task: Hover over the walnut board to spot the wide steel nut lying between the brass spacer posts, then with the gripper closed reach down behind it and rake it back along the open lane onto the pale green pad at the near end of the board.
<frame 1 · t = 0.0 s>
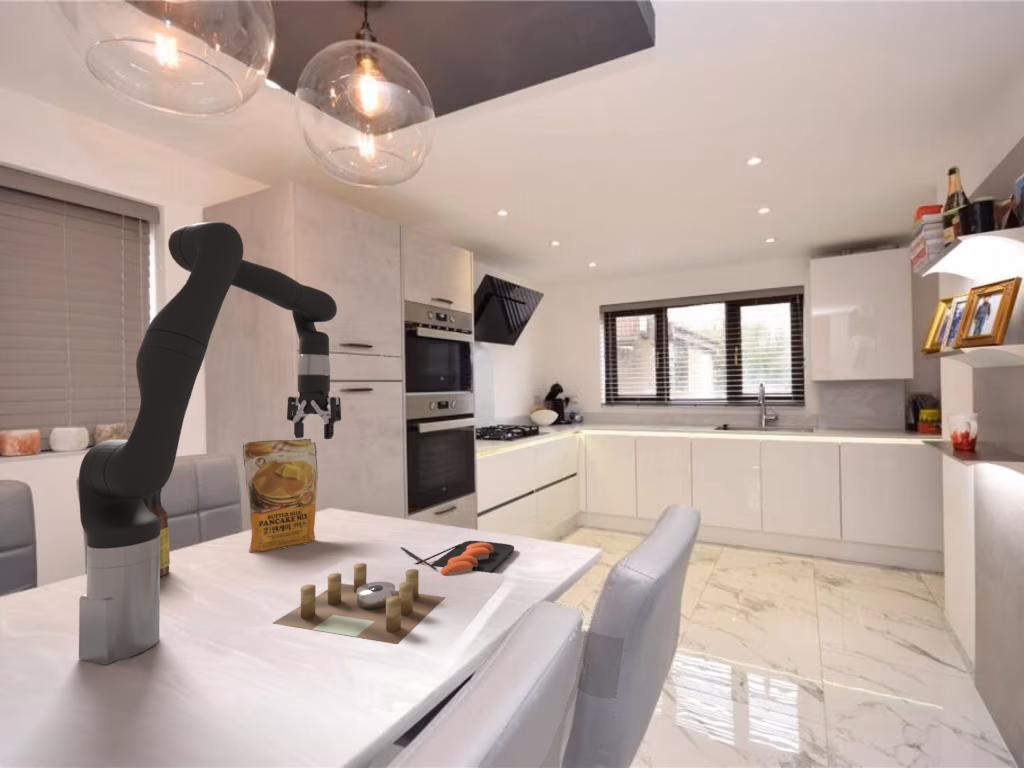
hand: (313, 438, 122), 29 cm above the table, tool pointing down, fingers open, 8 cm apart
nut: (375, 601, 92), point 1 cm above the table, touching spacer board
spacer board: (363, 617, 89), on the table
sauce bottle: (151, 576, 109), on the table
pancake mix bag: (282, 545, 130), on the table
sushi plate: (439, 565, 117), on the table
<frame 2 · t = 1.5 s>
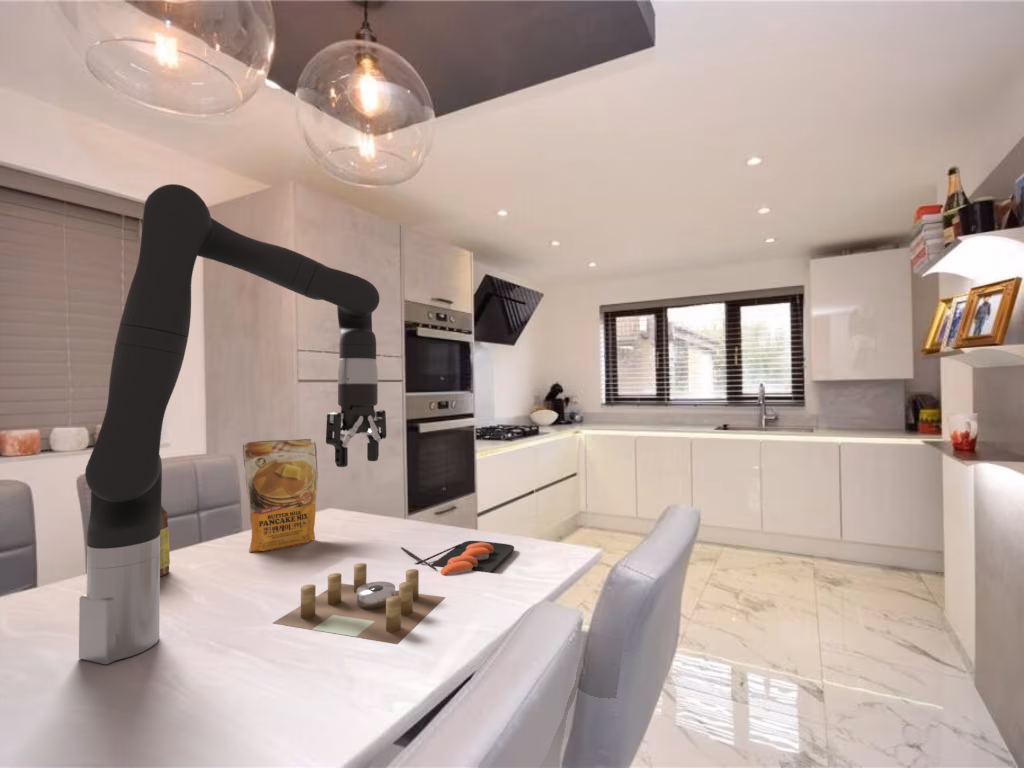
hand: (357, 463, 97), 27 cm above the table, tool pointing down, fingers open, 8 cm apart
nothing on the table moved.
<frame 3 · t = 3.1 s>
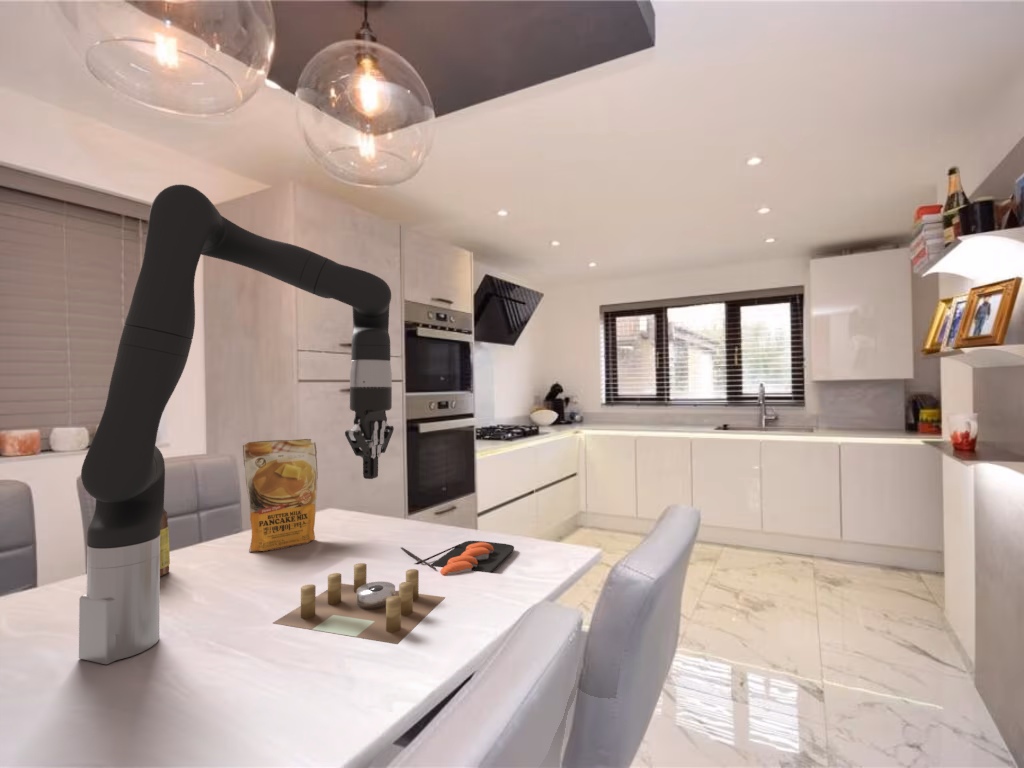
hand: (370, 478, 91), 25 cm above the table, tool pointing down, fingers closed
nothing on the table moved.
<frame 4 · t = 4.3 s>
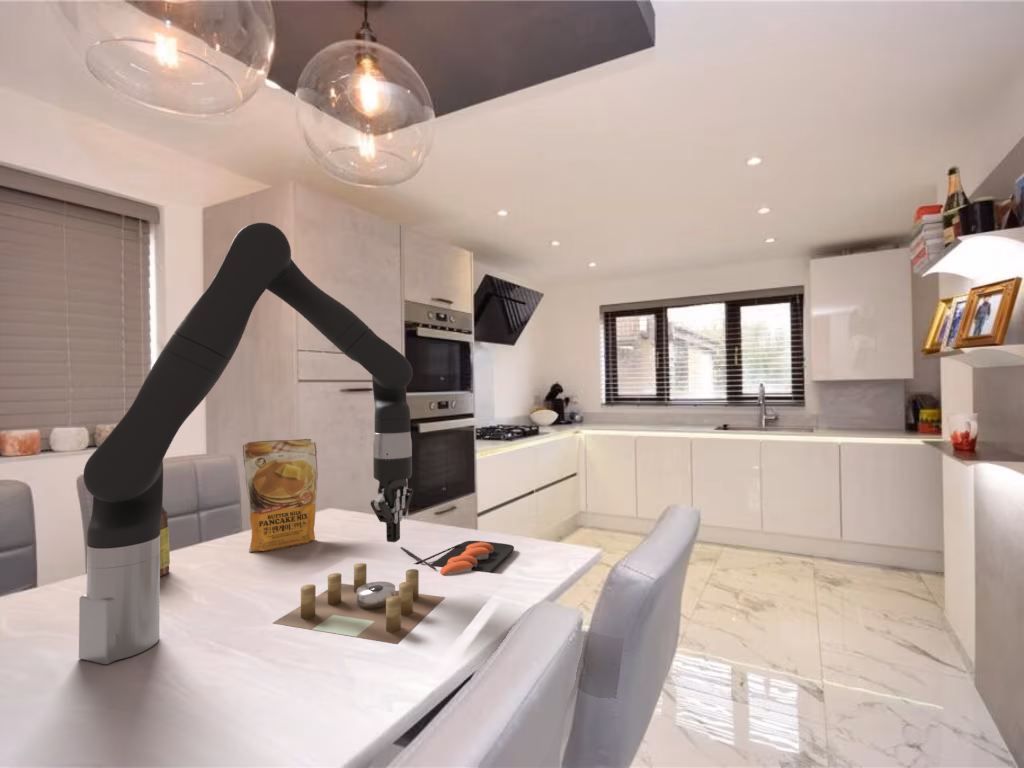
hand: (393, 540, 98), 11 cm above the table, tool pointing down, fingers closed
nothing on the table moved.
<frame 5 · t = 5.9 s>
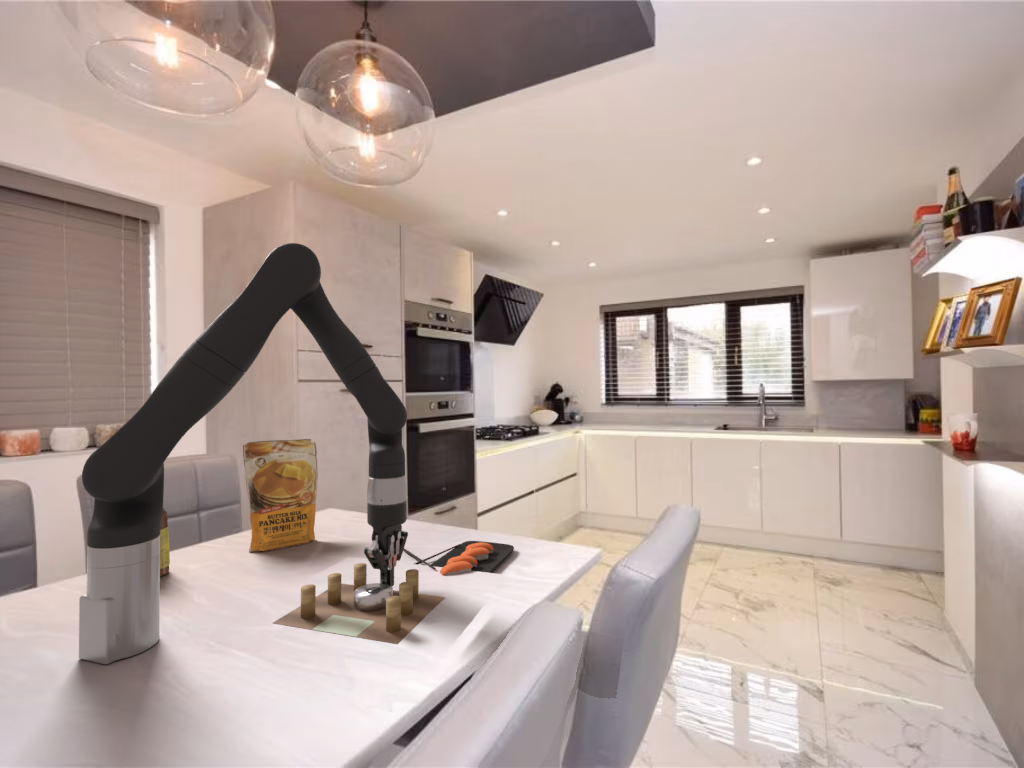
hand: (387, 586, 96), 3 cm above the table, tool pointing down, fingers closed
nut: (373, 603, 91), point 2 cm above the table, touching gripper, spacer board
everything else where it was.
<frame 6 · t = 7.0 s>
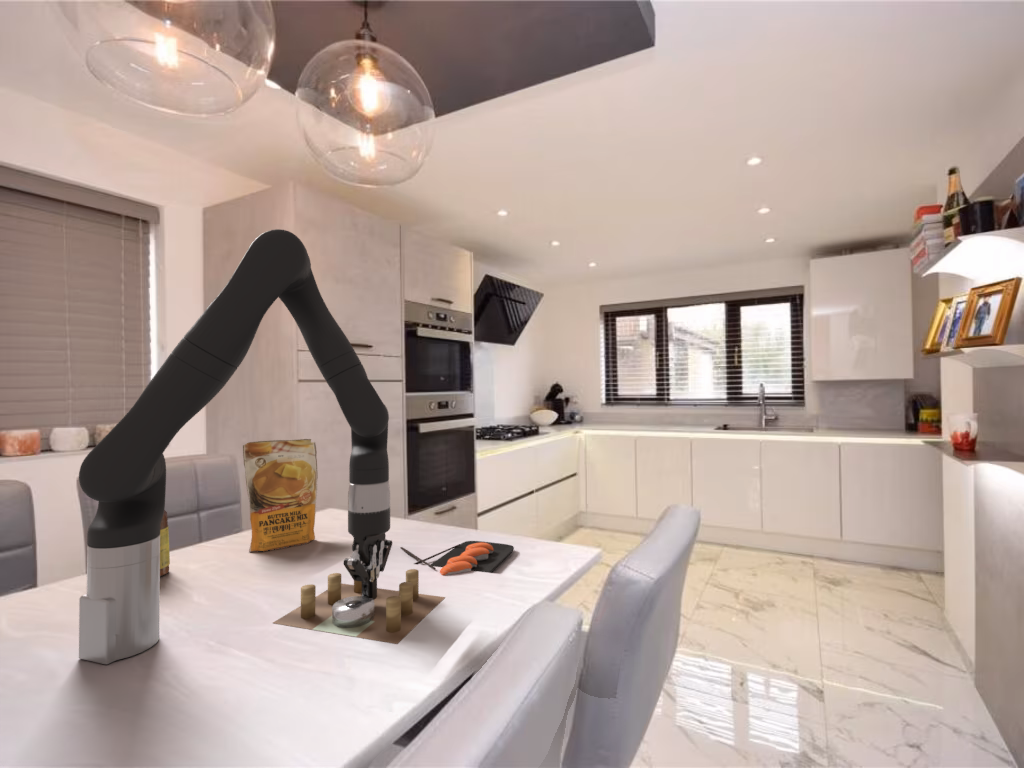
hand: (369, 599, 90), 3 cm above the table, tool pointing down, fingers closed
nut: (353, 618, 85), point 2 cm above the table, touching gripper, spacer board
everything else where it was.
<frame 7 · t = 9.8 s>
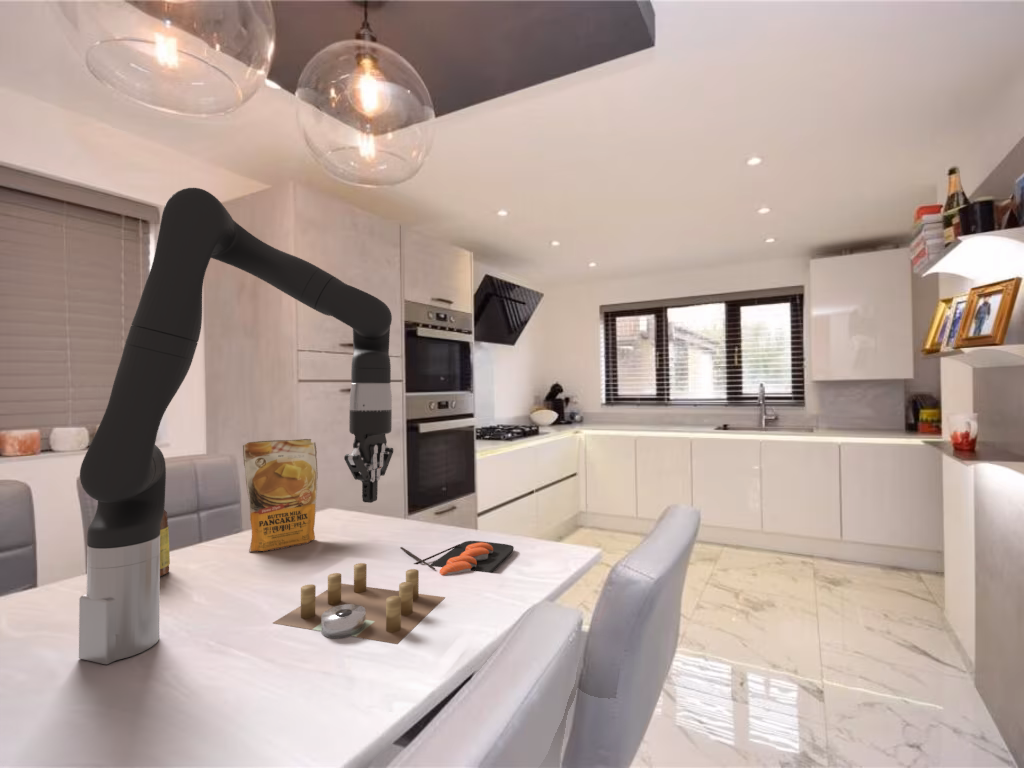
hand: (369, 501, 90), 21 cm above the table, tool pointing down, fingers closed
nut: (343, 627, 82), point 1 cm above the table, touching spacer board
everything else where it was.
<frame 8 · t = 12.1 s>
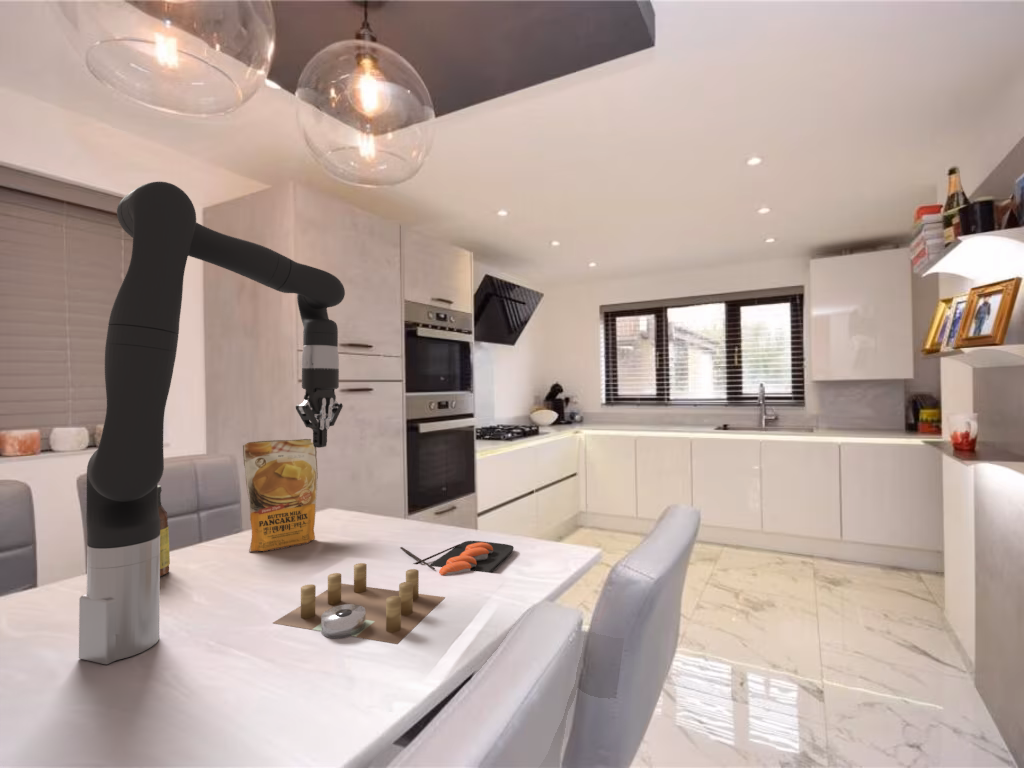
hand: (320, 446, 106), 29 cm above the table, tool pointing down, fingers closed
nothing on the table moved.
at the end: nut inside the target area (0.6 cm from its centre), point 1.5 cm above the table; nut moved 10.5 cm from its start; nut touching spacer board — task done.
